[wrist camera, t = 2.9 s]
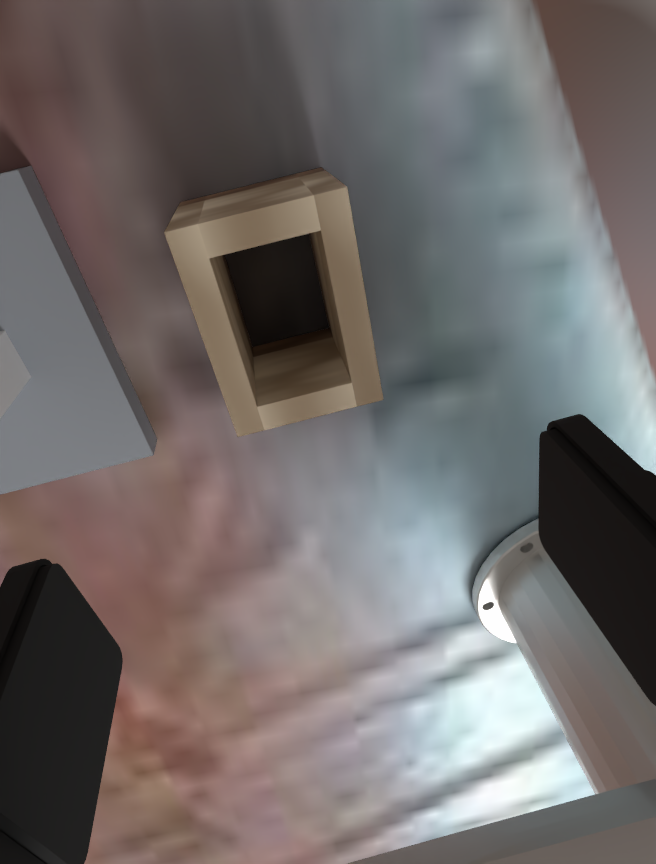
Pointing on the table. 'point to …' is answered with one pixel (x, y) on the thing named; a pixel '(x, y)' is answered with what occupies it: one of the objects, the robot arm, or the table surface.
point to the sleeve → (296, 356)
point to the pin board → (55, 355)
